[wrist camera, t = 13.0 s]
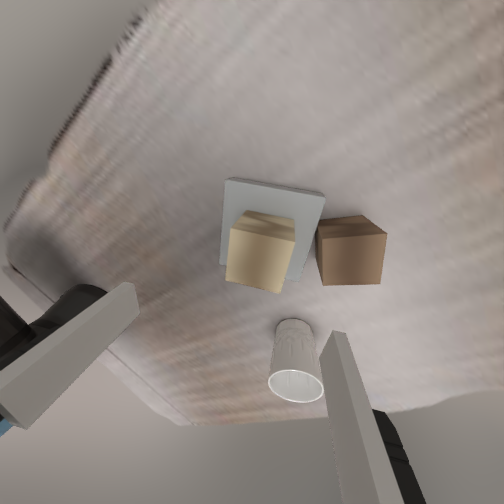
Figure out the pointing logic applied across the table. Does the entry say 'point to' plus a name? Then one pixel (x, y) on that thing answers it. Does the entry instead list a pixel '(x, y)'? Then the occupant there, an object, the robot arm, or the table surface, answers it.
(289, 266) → the grey block
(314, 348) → the white cup
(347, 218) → the walnut block
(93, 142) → the table surface
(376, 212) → the table surface
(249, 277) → the maple block
